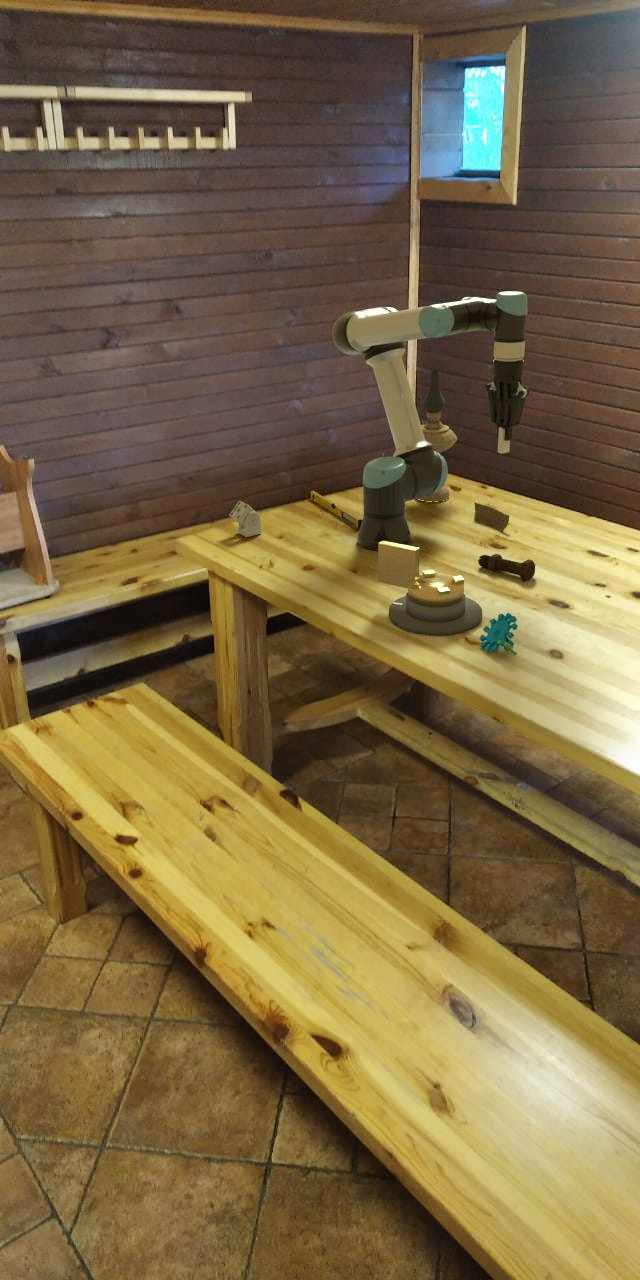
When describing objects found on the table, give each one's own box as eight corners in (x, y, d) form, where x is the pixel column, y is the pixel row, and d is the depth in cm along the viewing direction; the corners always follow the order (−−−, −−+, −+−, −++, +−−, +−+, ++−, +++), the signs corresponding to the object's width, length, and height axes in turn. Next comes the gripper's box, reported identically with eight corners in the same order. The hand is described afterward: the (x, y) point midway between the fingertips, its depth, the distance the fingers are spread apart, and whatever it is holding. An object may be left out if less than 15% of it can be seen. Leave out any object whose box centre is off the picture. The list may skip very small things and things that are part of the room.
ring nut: (472, 591, 232) (474, 548, 227) (448, 610, 222) (449, 566, 218) (393, 574, 243) (393, 533, 238) (366, 592, 233) (366, 550, 228)
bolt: (482, 572, 261) (531, 584, 252) (473, 568, 258) (522, 580, 248) (488, 551, 261) (538, 562, 252) (479, 547, 257) (529, 558, 248)
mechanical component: (262, 534, 288) (260, 501, 283) (239, 540, 284) (236, 507, 280) (252, 529, 292) (250, 497, 287) (230, 535, 288) (227, 502, 284)
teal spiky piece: (473, 631, 220) (506, 603, 217) (489, 646, 223) (523, 617, 220) (484, 659, 211) (520, 630, 208) (502, 674, 214) (537, 645, 211)
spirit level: (310, 499, 317) (309, 490, 316) (313, 499, 318) (313, 490, 316) (358, 529, 290) (358, 520, 289) (362, 529, 290) (362, 519, 289)
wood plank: (470, 518, 295) (471, 502, 293) (476, 517, 296) (477, 501, 294) (503, 533, 283) (504, 516, 281) (508, 531, 284) (510, 515, 282)
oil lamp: (400, 494, 319) (401, 369, 301) (440, 487, 324) (443, 364, 307) (422, 507, 306) (425, 377, 289) (464, 500, 311) (468, 372, 294)
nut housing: (370, 613, 235) (370, 594, 233) (438, 590, 246) (438, 571, 244) (431, 644, 219) (432, 624, 217) (501, 618, 230) (502, 599, 228)
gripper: (539, 359, 239) (532, 454, 249) (500, 353, 249) (495, 444, 259) (517, 363, 235) (511, 460, 245) (479, 356, 245) (475, 449, 255)
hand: (503, 452), depth 252 cm, fingers closed
